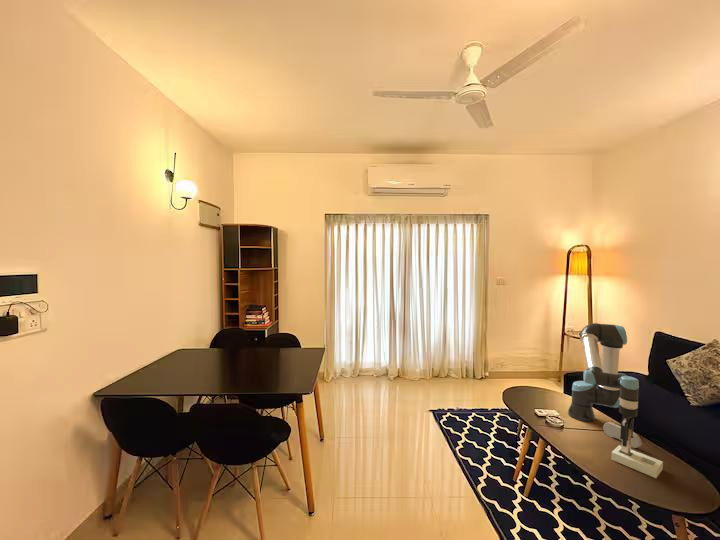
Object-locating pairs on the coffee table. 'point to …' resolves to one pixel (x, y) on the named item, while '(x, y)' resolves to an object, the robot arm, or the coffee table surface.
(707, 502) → the coffee table surface
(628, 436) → the peg
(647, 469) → the socket block
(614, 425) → the grey flat oval slab
